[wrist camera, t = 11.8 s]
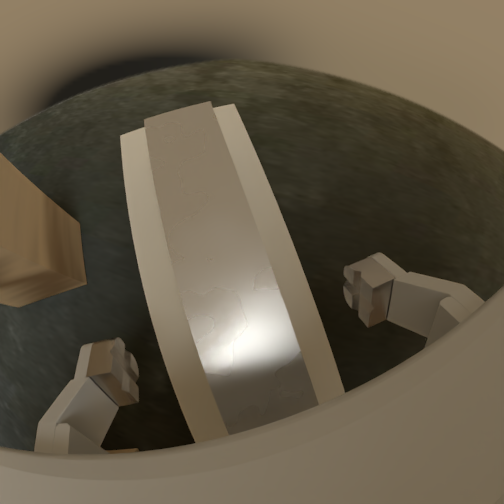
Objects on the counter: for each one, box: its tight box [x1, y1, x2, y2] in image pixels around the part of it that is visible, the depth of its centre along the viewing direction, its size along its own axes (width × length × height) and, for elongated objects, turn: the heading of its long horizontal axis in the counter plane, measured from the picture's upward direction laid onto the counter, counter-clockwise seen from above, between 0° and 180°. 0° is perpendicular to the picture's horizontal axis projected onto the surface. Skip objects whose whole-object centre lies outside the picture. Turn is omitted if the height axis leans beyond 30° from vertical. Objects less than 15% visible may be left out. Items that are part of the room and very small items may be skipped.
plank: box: [120, 104, 345, 443], centre depth 13 cm, size 8×28×1 cm, turn 19°
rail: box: [144, 101, 319, 435], centre depth 11 cm, size 4×22×4 cm, turn 18°
